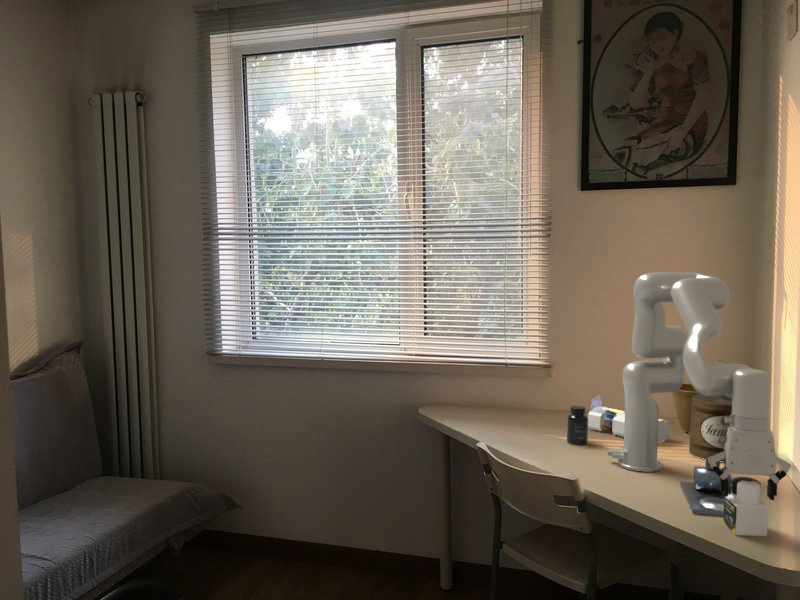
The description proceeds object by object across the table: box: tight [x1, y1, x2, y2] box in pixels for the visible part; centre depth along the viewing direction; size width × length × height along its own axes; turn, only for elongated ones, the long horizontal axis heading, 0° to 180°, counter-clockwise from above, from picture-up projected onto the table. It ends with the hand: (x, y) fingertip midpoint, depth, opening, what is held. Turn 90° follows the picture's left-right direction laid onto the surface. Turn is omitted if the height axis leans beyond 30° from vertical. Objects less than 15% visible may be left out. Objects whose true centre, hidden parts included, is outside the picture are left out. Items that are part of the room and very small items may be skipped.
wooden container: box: [688, 394, 732, 461], centre depth 210 cm, size 15×15×22 cm
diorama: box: [587, 395, 670, 443], centre depth 233 cm, size 25×10×13 cm, turn 39°
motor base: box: [679, 459, 735, 518], centre depth 172 cm, size 14×20×9 cm
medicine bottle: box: [722, 476, 769, 537], centre depth 155 cm, size 7×7×12 cm
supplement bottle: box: [566, 405, 589, 446], centre depth 224 cm, size 7×7×12 cm
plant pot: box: [672, 382, 700, 432], centre depth 237 cm, size 15×15×16 cm
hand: (747, 496), depth 154 cm, fingers open, 9 cm apart
